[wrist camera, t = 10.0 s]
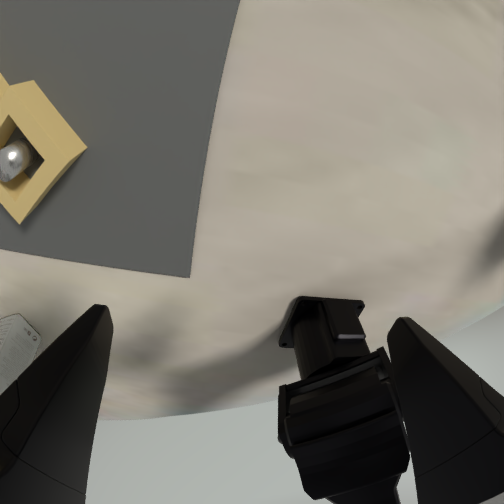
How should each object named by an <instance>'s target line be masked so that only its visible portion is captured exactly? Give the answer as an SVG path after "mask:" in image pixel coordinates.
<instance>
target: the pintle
mask: <svg viewBox="0 0 504 504" xmlns="http://www.w3.org/2000/svg"><path fill="white" fill-rule="evenodd" d="M40 158H41V155H40V154H39V153H38V151H37V150H36V149H35V148H34V146H33V145H32V144H31V143H30V141H29V140H28V139H27V138H26V136H24V137H22V138H20V139H18V140H17V141H15V142H13V143H11V144H10V145H8V146H6V147H4V148H3V149H1V150H0V180H1V181H4V182H8V181H10V180H11V179H13V178H14V177H15V176H17V175H18V174H19V173H21V172H22V171H23V170H25V169H26V168H27V167H29V166H30V165H32V164H33V163H34V162H36V161H37V160H39V159H40Z"/></svg>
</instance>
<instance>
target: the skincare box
mask: <svg viewBox="0 0 504 504" xmlns="http://www.w3.org/2000/svg"><path fill="white" fill-rule="evenodd" d="M40 341H41V337H40V336H39V334H38V333H37V332H36V331H35V330H34V329H33V328H32V327H31V326H30V325H29V324H28V322H27V321H26V320H25V319H24V318H23V317H22V316H21V315H20V314H16V315H12V316H8V317H5V318H3V319H0V395H1V394H2V393H3V392H4V391H5V390H6V389H7V388H8V387H9V386H10V385H11V383H12V382H13V381H14V380H15V379H17V377H18V376H19V375H20V374H21V373H22V372H23V371H24V370H25V369H26V368H27V367H28V366H29V365H30V364H31V363H32V362H33V359H34V356H35V354H36V351H37V349H38V346H39V344H40Z"/></svg>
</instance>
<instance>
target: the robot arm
mask: <svg viewBox="0 0 504 504" xmlns="http://www.w3.org/2000/svg"><path fill="white" fill-rule="evenodd" d="M302 302H303V303H302ZM364 307H365V304H364V302H363V301H361V300H348V299H334V298H321V297H308V296H302V297H299V298H298V299H297V301H296V303H295V306H294V308H293V310H292V312H291V315H290V317H289V319H288V321H287V324H286V326H285V328H284V330H283V333H282V335H281V337H280V339H279V346H280V347H282V348H294V350H295V354H296V359H297V363H298V368H299V373H300V377H301V380H300V381H297V382H294V383H291V384H288V385H286V384H285V385H282V386H279V395H278V441H279V442H280V443H281V444H283V446H284V449H285V451H286V453H287V454H288V455H289V457H290V458H292V459H295V462H296V464H297V467H298V470H299V473H300V477H301V481H302V485H303V488H304V491H305V492H306V493H307V494H308V495H309V496H310V497H311V498H312V499H313V500H318V499H322V498H326V499H327V500H329V501H330V502H332V503H333V504H401V502H400V499H399V495H398V491H397V484H398V482H399V479H400V477H401V474H402V473H404V472H406V471H407V467H408V464H409V460H410V454H409V452H411V458H412V463H413V469H414V476H415V483H416V490H417V498H418V504H504V397H503V396H502V395H501V394H499V393H498V392H497V391H496V390H495V389H493V388H492V387H491V386H490V385H489V384H488V383H486V382H485V381H484V380H483V379H482V378H481V377H479V375H477V374H476V373H475V372H474V371H473V370H472V369H470V368H469V367H468V366H467V365H466V364H465V363H464V362H462V361H461V360H460V359H459V358H458V357H457V356H456V355H454V354H453V353H452V352H451V351H450V350H449V349H447V348H446V347H445V346H444V345H443V344H441V343H440V342H439V341H438V340H437V339H435V338H434V337H433V336H432V335H431V334H429V333H428V332H427V331H426V330H425V329H423V328H422V327H421V326H420V325H418V324H417V323H416V322H415V321H414V320H412V319H411V318H410V317H399V318H397V320H396V321H395V323H394V324H393V326H392V328H391V329H390V331H389V332H388V335H387V342H388V348H389V353H390V359H391V362H390V360H389V358H388V355H387V353H386V351H385V349H384V347H380V348H378V349H377V350H376V351H374V352H372V353H370V350H369V348H368V345H367V343H366V341H365V337H366V335H365V333H364V330H363V328H362V325H361V323H360V321H359V318H358V317H359V315H360V314H361V312H362V311H363V309H364ZM112 336H113V323H112V319H111V315H110V311H109V308H108V307H107V306H106V305H99V304H94V305H93V306H91V307H90V308H89V309H88V310H87V311H86V312H85V313H84V314H83V315H82V316H80V317H79V318H78V319H77V320H76V321H75V322H74V323H73V324H72V325H71V326H70V327H68V328H67V329H66V330H65V331H64V332H63V333H62V334H61V335H60V336H59V337H58V338H57V339H56V340H55V341H54V342H53V343H52V344H51V345H49V346H48V347H47V348H46V349H45V350H44V351H43V352H42V353H41V354H40V355H39V356H38V357H37V358H36V359H35V360H34V361H33V362H32V363H31V364H30V365H29V366H28V367H27V368H26V369H25V370H24V371H23V372H22V373H21V374H20V375H19V376H18V377H17V379H15V380H14V381H13V382H12V383H11V385H10V386H9V387H8V388H7V389H6V390H5V391H4V392H3V393H2V394H1V395H0V504H85V499H86V495H85V494H86V488H87V479H88V472H89V465H90V458H91V451H92V445H93V440H94V434H95V429H96V423H97V418H98V413H99V409H100V404H101V399H102V395H103V391H104V386H105V382H106V377H107V371H108V363H109V356H110V349H111V342H112ZM403 421H404V422H405V427H406V430H405V427H404V423H403ZM406 432H407V434H406Z"/></svg>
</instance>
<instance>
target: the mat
mask: <svg viewBox="0 0 504 504" xmlns="http://www.w3.org/2000/svg"><path fill="white" fill-rule="evenodd" d="M239 2H240V0H0V73H1V74H2V76H3V77H4V79H5V80H6V81H7V83H8V84H9V86H11V85H14V84H18V83H23V82H27V81H31V80H34V81H35V83H36V84H37V85H38V87H39V88H40V89H41V90H42V92H43V93H44V94H45V96H46V97H47V98H48V99H49V101H50V102H51V103H52V105H53V106H54V107H55V108H56V110H57V111H58V112H59V113H60V115H61V116H62V117H63V118H64V120H65V121H66V122H67V123H68V125H69V126H70V127H71V128H72V129H73V131H74V132H75V133H76V134H77V135H78V137H79V138H80V139H81V140H82V141H83V143H84V144H85V145H86V146H87V147H88V148H87V149H86V150H85V151H84V152H83V153H82V154H81V155H80V156H79V157H78V158H77V159H76V160H75V161H74V163H73V164H72V165H71V166H70V167H69V168H68V169H67V170H66V171H65V173H64V174H63V175H62V176H61V177H60V178H59V180H58V181H57V182H56V183H55V184H54V186H53V187H52V188H51V189H50V190H49V192H48V193H47V194H46V195H45V197H44V198H43V199H42V200H41V202H40V203H39V204H38V206H37V207H36V208H35V209H34V210H33V211H32V212H31V213H30V214H29V215H28V216H27V217H26V218H25V219H24V220H23V221H22V222H21V224H20V225H19V224H18V222H17V221H16V220H15V219H14V218H13V217H12V216H11V215H10V213H9V212H8V211H7V210H6V209H5V208H4V206H3V205H2V204H1V203H0V249H5V250H10V251H16V252H21V253H27V254H33V255H38V256H44V257H50V258H56V259H62V260H68V261H74V262H81V263H87V264H94V265H100V266H107V267H114V268H121V269H128V270H135V271H142V272H149V273H157V274H164V275H172V276H180V277H188V278H190V272H191V263H192V254H193V246H194V238H195V230H196V222H197V215H198V208H199V201H200V194H201V187H202V181H203V174H204V168H205V162H206V156H207V150H208V144H209V139H210V133H211V128H212V122H213V117H214V112H215V107H216V101H217V97H218V92H219V87H220V82H221V77H222V73H223V68H224V64H225V59H226V55H227V50H228V46H229V42H230V38H231V34H232V30H233V26H234V22H235V18H236V14H237V10H238V6H239ZM24 136H25V135H24V134H23V132H22V131H21V130H20V128H19V127H18V126H17V127H16V128H15V130H14V131H13V133H12V135H11V136H10V138H9V139H8V141H7V142H6V144H5V146H4V147H6V146H8V145H10V144H11V143H13V142H15V141H17V140H18V139H20V138H22V137H24ZM44 161H45V160H44V159H43V157H42V156H41V158H40V159H39V160H37V161H36V162H34V163H33V164H32V165H30V166H29V167H27V168H26V169H25V170H23V171H24V173H25V174H26V175H27V176H28V177H29V179H30V180H31V178H32V177H33V175H34V174H35V173H36V171H37V170H38V169H39V167H40V166H41V165H42V163H43V162H44Z"/></svg>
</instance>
